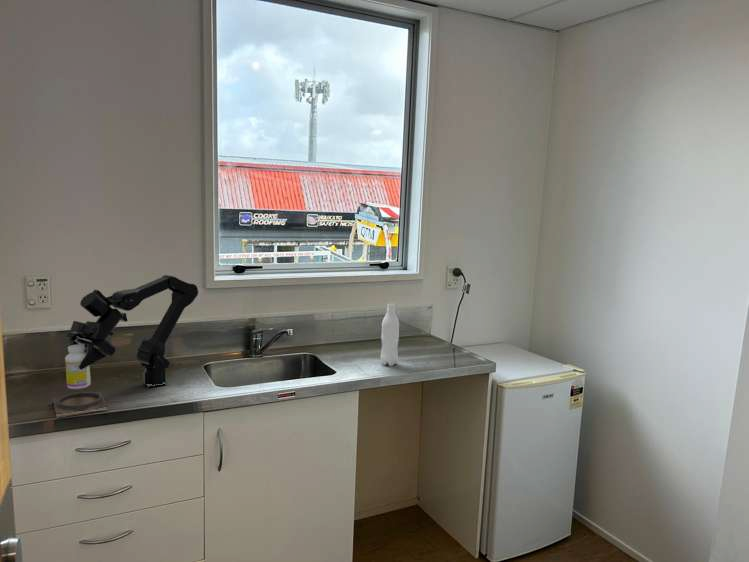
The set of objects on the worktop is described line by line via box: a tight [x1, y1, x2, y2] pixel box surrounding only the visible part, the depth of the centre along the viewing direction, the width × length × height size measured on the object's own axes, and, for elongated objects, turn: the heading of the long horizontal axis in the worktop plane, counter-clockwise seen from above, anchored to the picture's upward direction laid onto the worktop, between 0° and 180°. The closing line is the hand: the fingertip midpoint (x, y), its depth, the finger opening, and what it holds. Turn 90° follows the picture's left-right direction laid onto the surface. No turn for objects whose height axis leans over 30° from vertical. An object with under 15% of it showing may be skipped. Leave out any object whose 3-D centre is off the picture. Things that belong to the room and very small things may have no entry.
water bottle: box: [380, 302, 400, 367], centre depth 237 cm, size 7×7×25 cm
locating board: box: [52, 391, 109, 414], centre depth 182 cm, size 14×14×3 cm
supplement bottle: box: [64, 344, 92, 390], centre depth 180 cm, size 7×7×13 cm
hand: (73, 366), depth 179 cm, fingers closed on supplement bottle, 7 cm apart
